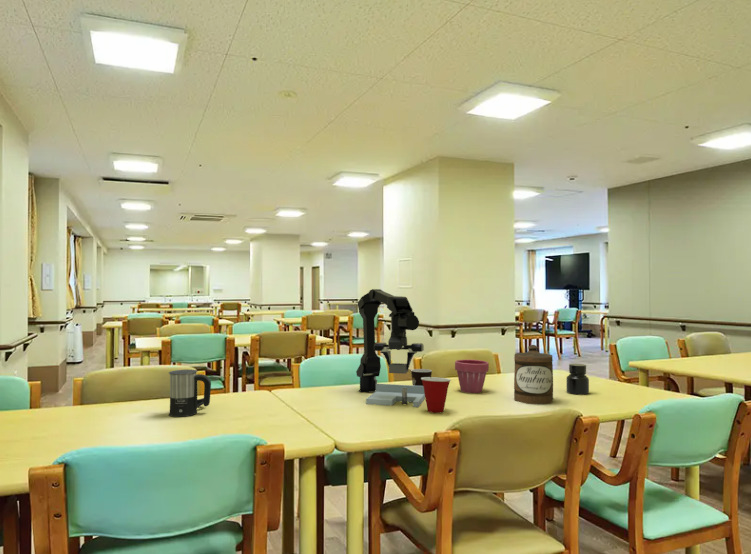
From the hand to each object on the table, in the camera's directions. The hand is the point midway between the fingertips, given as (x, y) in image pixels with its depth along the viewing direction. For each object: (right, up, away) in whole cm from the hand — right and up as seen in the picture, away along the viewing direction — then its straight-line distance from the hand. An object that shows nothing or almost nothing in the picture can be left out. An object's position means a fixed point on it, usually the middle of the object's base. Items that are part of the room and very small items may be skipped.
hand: (398, 369), depth 205 cm
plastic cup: (+13, -13, -14) cm, 23 cm away
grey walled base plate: (-1, -13, +2) cm, 13 cm away
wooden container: (+54, -13, +6) cm, 56 cm away
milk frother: (-75, -12, -18) cm, 78 cm away
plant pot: (+32, -14, +23) cm, 42 cm away
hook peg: (+2, -13, -3) cm, 13 cm away
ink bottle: (+77, -14, +21) cm, 81 cm away
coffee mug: (+10, -13, +17) cm, 23 cm away
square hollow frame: (0, -1, 0) cm, 1 cm away
